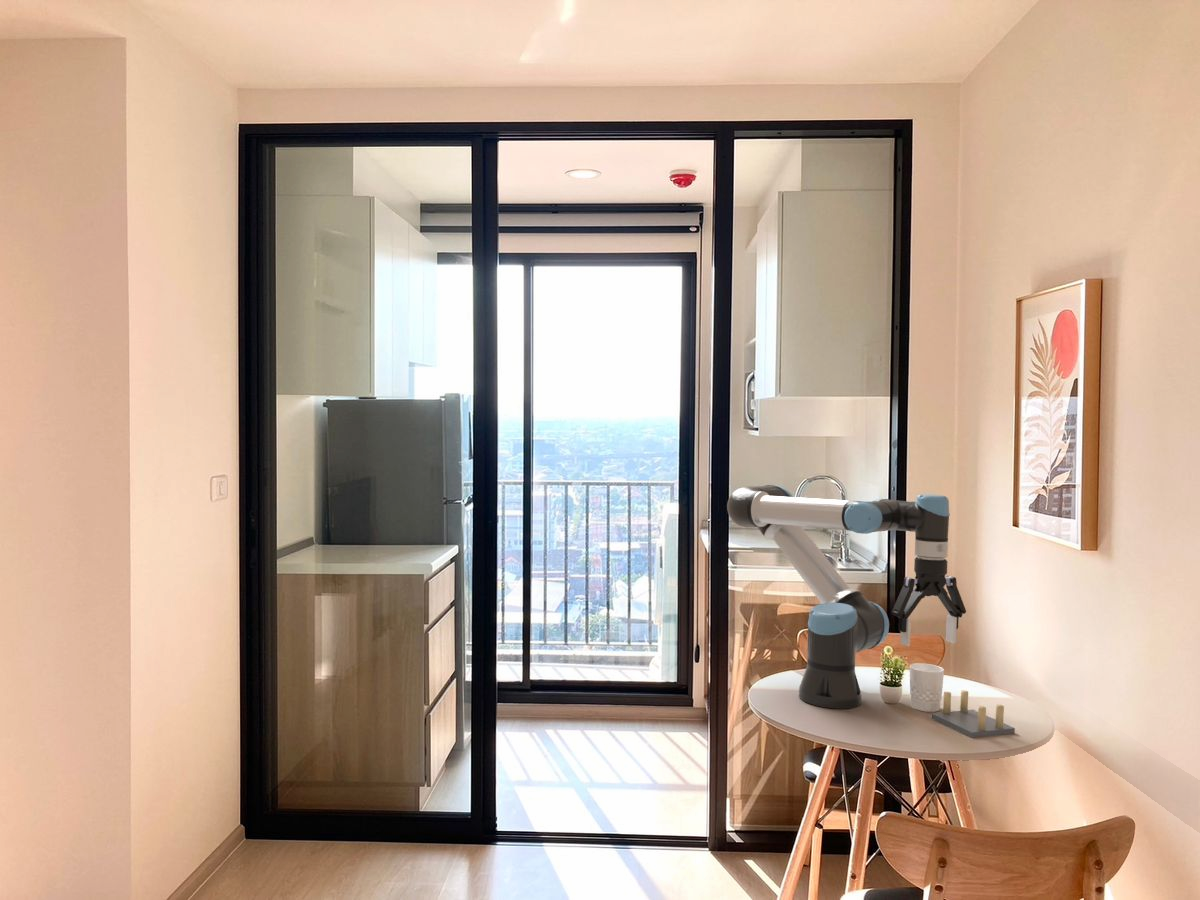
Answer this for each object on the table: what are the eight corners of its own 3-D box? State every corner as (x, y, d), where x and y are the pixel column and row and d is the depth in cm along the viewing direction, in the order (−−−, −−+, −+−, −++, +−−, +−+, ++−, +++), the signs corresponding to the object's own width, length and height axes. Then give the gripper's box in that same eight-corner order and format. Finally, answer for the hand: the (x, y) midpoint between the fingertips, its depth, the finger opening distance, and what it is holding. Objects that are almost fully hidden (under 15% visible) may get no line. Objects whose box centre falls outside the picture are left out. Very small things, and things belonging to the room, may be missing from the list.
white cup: (947, 713, 201) (949, 672, 200) (914, 712, 201) (916, 671, 201) (935, 703, 208) (936, 663, 208) (903, 702, 209) (905, 662, 208)
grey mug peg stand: (971, 737, 184) (972, 710, 184) (931, 718, 197) (932, 692, 197) (1014, 733, 188) (1015, 706, 188) (972, 714, 200) (973, 689, 200)
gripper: (898, 560, 196) (895, 650, 197) (983, 558, 204) (980, 644, 205) (878, 556, 204) (875, 642, 204) (961, 554, 211) (958, 637, 212)
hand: (928, 643), depth 204 cm, fingers open, 13 cm apart
